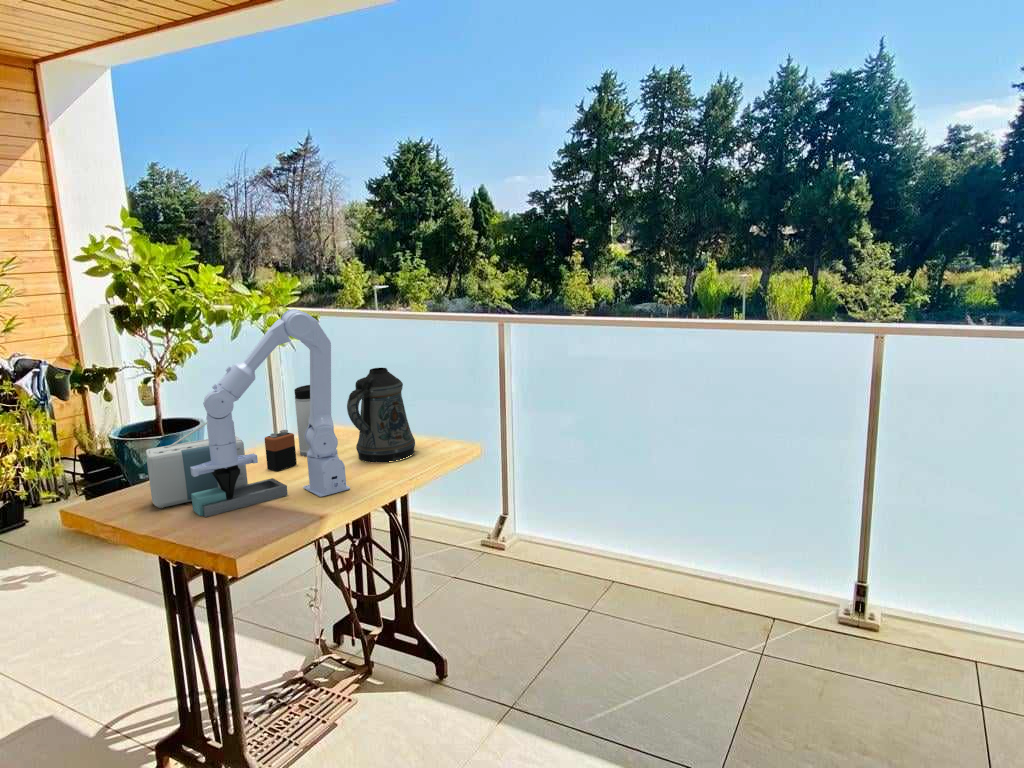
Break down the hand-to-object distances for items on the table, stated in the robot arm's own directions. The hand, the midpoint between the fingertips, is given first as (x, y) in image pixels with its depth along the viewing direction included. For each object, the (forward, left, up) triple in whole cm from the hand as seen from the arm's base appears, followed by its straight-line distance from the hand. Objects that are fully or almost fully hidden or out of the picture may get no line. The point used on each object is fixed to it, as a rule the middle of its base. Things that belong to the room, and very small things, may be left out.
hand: (228, 498), depth 162 cm
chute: (0, -2, -1) cm, 3 cm away
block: (0, +4, -1) cm, 5 cm away
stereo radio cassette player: (+11, +3, -2) cm, 12 cm away
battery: (+19, -21, -2) cm, 29 cm away
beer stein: (+7, -46, -2) cm, 47 cm away
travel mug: (+26, -33, -2) cm, 42 cm away
